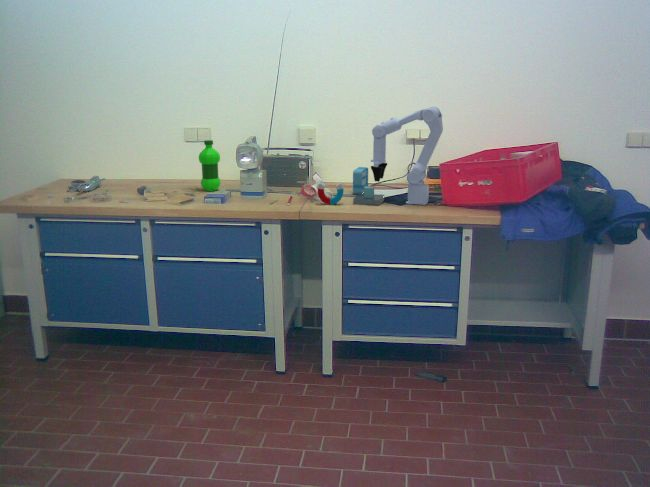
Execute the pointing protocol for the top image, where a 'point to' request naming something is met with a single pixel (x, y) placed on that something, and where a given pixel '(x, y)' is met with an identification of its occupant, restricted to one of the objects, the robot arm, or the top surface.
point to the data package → (360, 180)
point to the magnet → (333, 199)
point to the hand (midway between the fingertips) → (378, 179)
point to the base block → (368, 200)
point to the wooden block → (368, 192)
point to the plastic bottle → (209, 167)
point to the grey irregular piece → (85, 184)
